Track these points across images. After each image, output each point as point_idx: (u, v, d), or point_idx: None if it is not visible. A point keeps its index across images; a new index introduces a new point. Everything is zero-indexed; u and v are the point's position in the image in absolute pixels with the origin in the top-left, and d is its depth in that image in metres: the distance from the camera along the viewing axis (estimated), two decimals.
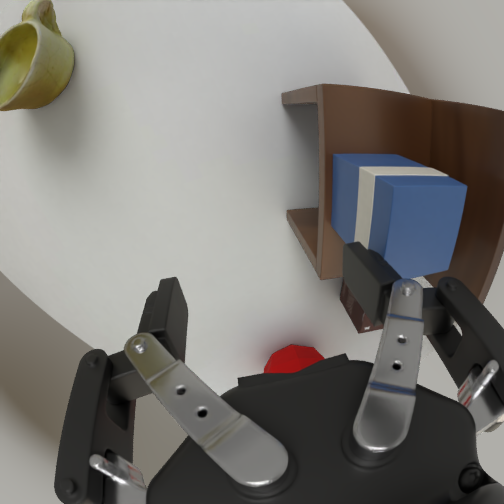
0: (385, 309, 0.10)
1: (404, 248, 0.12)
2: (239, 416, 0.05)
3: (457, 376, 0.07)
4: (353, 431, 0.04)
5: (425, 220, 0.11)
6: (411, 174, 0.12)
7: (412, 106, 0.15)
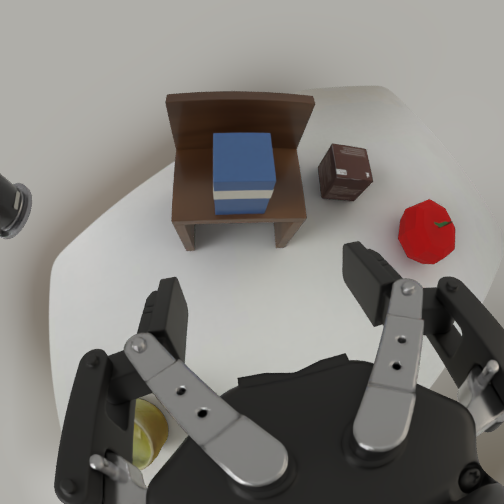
0: (385, 309, 0.10)
1: (251, 168, 0.22)
2: (239, 416, 0.05)
3: (457, 376, 0.07)
4: (353, 431, 0.04)
5: (234, 158, 0.22)
6: None
7: (182, 163, 0.29)
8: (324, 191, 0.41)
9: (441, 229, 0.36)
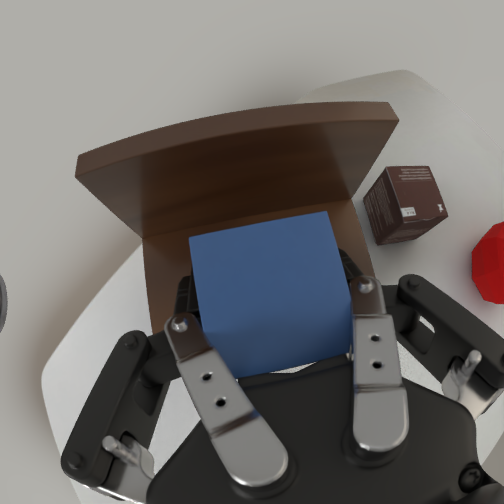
0: None
1: (300, 329, 0.09)
2: (254, 413, 0.05)
3: (435, 370, 0.07)
4: (353, 431, 0.04)
5: (252, 308, 0.09)
6: None
7: (156, 264, 0.16)
8: (380, 237, 0.27)
9: None
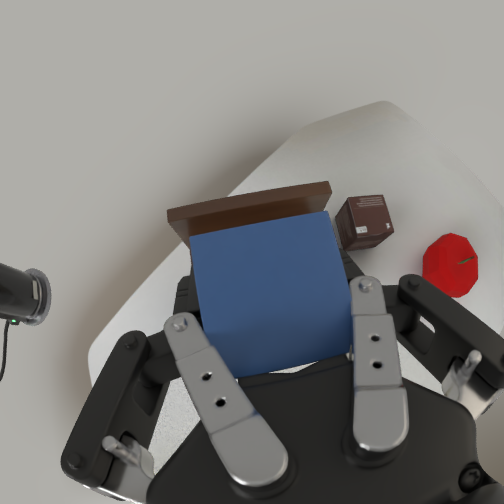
0: None
1: (301, 329, 0.09)
2: (254, 413, 0.05)
3: (435, 370, 0.07)
4: (353, 431, 0.04)
5: (253, 308, 0.09)
6: None
7: None
8: (345, 246, 0.40)
9: (464, 263, 0.33)
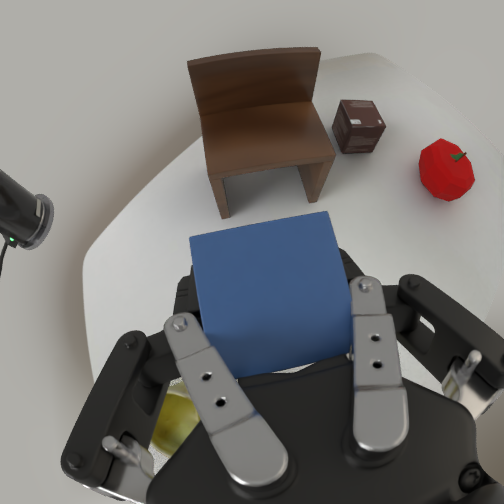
0: None
1: (301, 329, 0.09)
2: (254, 413, 0.05)
3: (435, 370, 0.07)
4: (353, 431, 0.04)
5: (253, 308, 0.09)
6: None
7: (208, 125, 0.30)
8: (343, 145, 0.40)
9: (458, 163, 0.34)
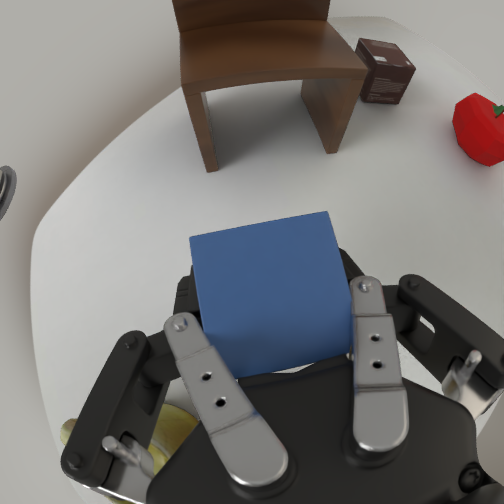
0: None
1: (301, 329, 0.09)
2: (254, 413, 0.05)
3: (435, 370, 0.07)
4: (353, 431, 0.04)
5: (253, 308, 0.09)
6: None
7: (189, 39, 0.18)
8: (364, 91, 0.29)
9: (498, 120, 0.22)
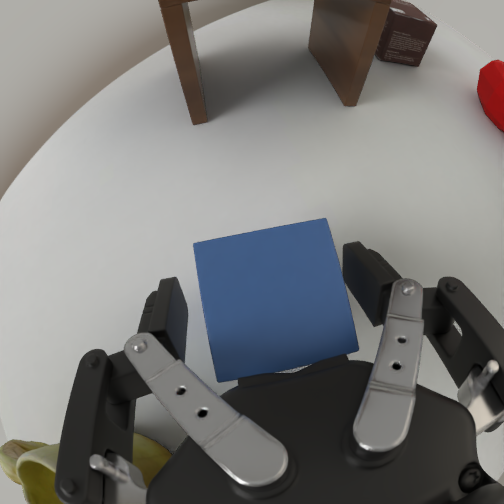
0: (385, 309, 0.10)
1: (301, 332, 0.09)
2: (239, 416, 0.05)
3: (457, 376, 0.07)
4: (353, 431, 0.04)
5: (254, 312, 0.09)
6: None
7: None
8: (381, 47, 0.21)
9: None
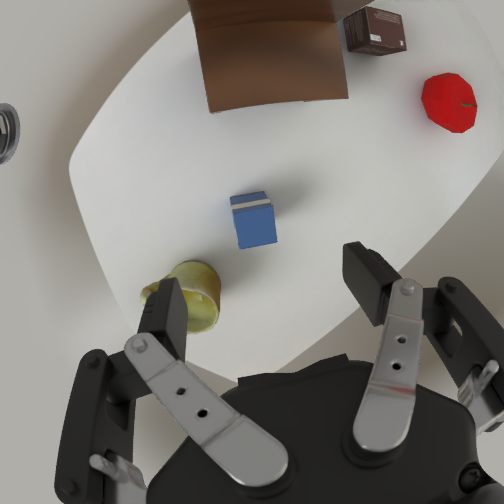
0: (385, 309, 0.10)
1: (261, 237, 0.36)
2: (239, 416, 0.05)
3: (457, 376, 0.07)
4: (353, 431, 0.04)
5: (250, 232, 0.35)
6: (235, 229, 0.36)
7: (207, 45, 0.20)
8: (352, 47, 0.29)
9: (465, 106, 0.28)
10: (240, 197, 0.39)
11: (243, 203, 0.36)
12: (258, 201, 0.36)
